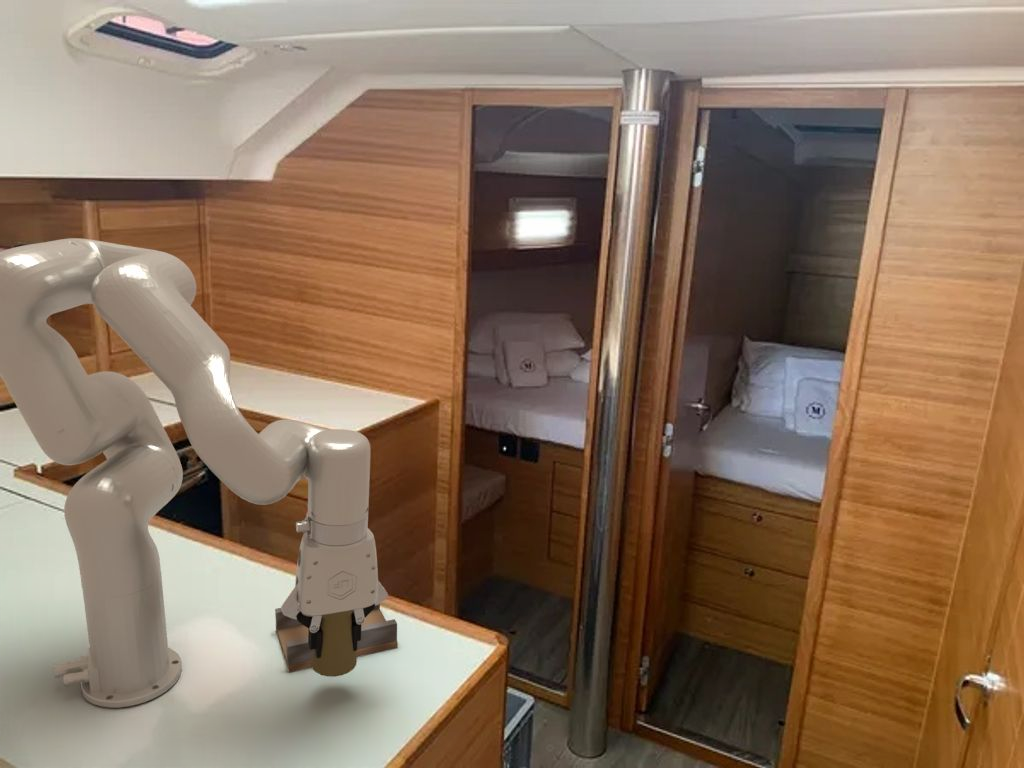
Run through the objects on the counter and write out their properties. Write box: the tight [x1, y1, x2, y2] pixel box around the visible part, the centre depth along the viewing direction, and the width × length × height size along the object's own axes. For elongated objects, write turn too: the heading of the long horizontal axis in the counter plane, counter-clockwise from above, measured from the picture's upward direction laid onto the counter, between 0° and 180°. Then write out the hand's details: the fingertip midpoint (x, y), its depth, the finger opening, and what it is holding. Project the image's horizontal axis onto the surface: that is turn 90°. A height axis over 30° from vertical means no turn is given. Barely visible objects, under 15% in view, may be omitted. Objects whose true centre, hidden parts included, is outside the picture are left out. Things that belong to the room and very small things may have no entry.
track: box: [274, 603, 399, 673], centre depth 121 cm, size 16×11×4 cm
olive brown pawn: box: [311, 610, 358, 678], centre depth 107 cm, size 6×6×11 cm
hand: (334, 647), depth 107 cm, fingers closed on olive brown pawn, 4 cm apart
